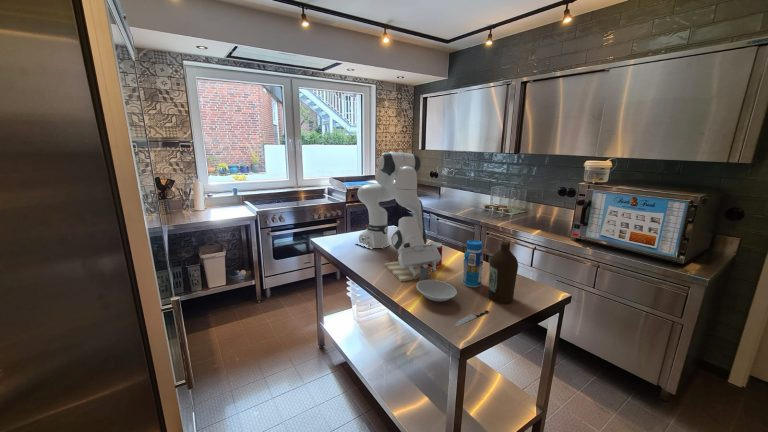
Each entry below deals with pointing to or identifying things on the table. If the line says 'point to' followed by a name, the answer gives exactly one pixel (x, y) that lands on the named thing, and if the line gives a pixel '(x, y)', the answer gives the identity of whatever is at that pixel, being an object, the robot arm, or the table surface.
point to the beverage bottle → (473, 264)
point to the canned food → (439, 248)
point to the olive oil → (502, 274)
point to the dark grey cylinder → (424, 273)
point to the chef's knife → (470, 318)
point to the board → (402, 271)
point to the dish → (436, 290)
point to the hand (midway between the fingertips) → (425, 273)
